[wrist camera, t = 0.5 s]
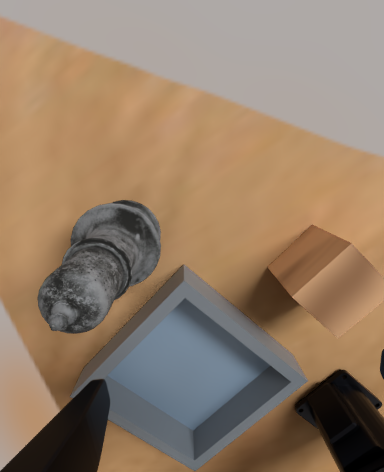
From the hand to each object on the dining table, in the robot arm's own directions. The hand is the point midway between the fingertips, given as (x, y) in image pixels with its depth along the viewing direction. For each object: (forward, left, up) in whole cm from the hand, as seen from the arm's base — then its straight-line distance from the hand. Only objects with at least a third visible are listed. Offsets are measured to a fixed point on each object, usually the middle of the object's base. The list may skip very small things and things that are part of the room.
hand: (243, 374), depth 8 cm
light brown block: (-8, -5, -13) cm, 16 cm away
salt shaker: (+5, +3, -13) cm, 15 cm away
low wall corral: (-7, +9, -13) cm, 17 cm away
